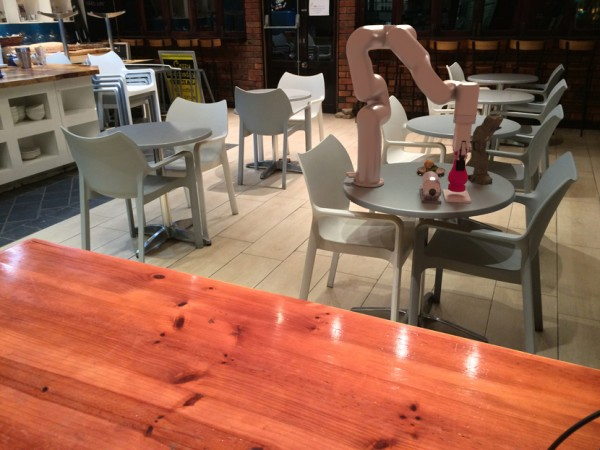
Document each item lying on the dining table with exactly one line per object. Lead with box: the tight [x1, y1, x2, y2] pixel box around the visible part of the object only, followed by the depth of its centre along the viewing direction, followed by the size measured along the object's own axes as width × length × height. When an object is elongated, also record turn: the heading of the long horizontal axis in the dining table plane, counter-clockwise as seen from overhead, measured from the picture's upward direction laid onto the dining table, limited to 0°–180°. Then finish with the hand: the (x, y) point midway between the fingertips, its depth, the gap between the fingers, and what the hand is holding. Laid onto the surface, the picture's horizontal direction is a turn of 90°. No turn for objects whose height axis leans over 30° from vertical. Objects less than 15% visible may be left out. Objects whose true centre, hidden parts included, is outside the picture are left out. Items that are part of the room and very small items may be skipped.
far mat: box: [442, 188, 472, 204], centre depth 184 cm, size 9×12×1 cm
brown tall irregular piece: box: [468, 112, 504, 185], centre depth 196 cm, size 13×7×29 cm, turn 25°
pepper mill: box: [447, 145, 471, 192], centre depth 179 cm, size 7×7×20 cm
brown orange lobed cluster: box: [416, 159, 446, 178], centre depth 211 cm, size 12×12×8 cm
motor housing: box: [419, 171, 443, 205], centre depth 185 cm, size 7×16×7 cm, turn 170°
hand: (458, 167), depth 180 cm, fingers closed on pepper mill, 5 cm apart
